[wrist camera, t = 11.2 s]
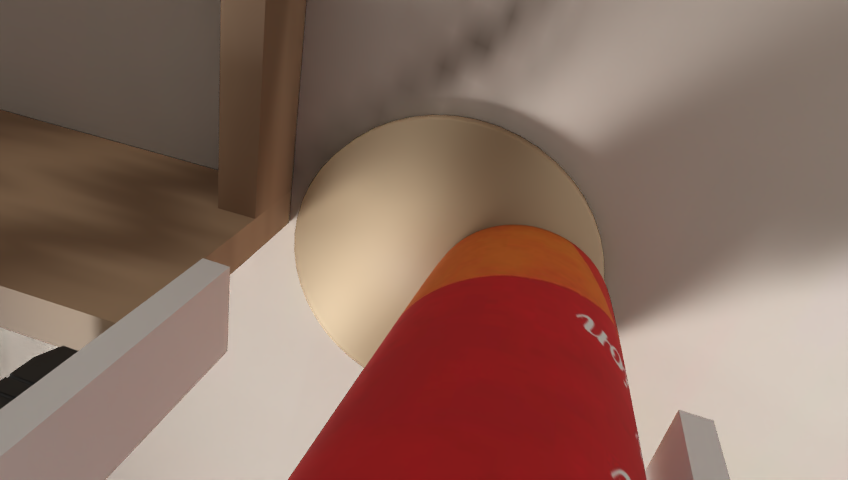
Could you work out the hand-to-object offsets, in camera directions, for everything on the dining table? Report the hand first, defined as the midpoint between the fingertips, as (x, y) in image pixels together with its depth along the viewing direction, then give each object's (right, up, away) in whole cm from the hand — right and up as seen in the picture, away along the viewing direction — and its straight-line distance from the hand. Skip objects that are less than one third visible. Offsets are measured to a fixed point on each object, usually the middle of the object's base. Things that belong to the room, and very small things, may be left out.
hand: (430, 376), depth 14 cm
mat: (0, +2, +5) cm, 5 cm away
